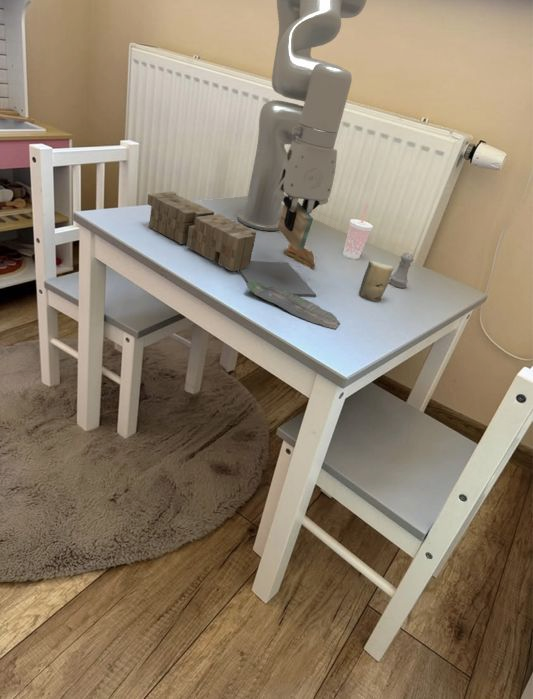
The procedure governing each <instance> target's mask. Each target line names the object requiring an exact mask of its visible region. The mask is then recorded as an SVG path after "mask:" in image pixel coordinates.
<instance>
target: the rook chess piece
mask: <svg viewBox="0 0 533 699" xmlns="http://www.w3.org/2000/svg"><path fill="white" fill-rule="evenodd" d="M412 262H414V255H413V254H410V253H409V252H403V253H402V255H401V256H400V261H399V265H398V267H397V269H396V270H395V272H393V274H391V277H390V280H389V284H390V285H391V286H393V287H395V288H398V289H405V288H406V287H407V284H408V283H409V282H408V281H409V280H408V273H409V269H410V267H411V263H412Z"/></svg>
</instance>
